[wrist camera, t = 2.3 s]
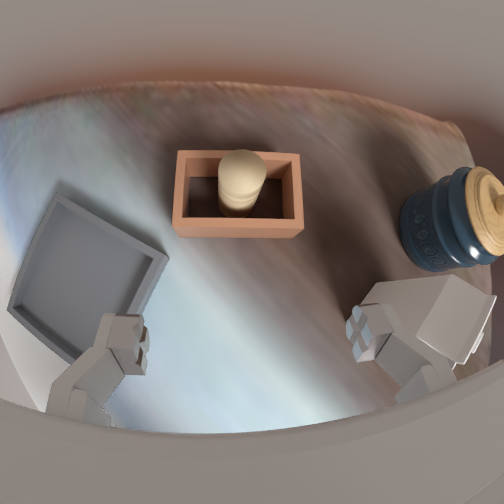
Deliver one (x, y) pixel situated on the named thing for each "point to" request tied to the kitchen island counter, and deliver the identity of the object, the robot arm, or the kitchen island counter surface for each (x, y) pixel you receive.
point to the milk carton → (438, 312)
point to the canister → (455, 221)
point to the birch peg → (239, 182)
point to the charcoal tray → (80, 278)
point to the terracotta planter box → (288, 227)
